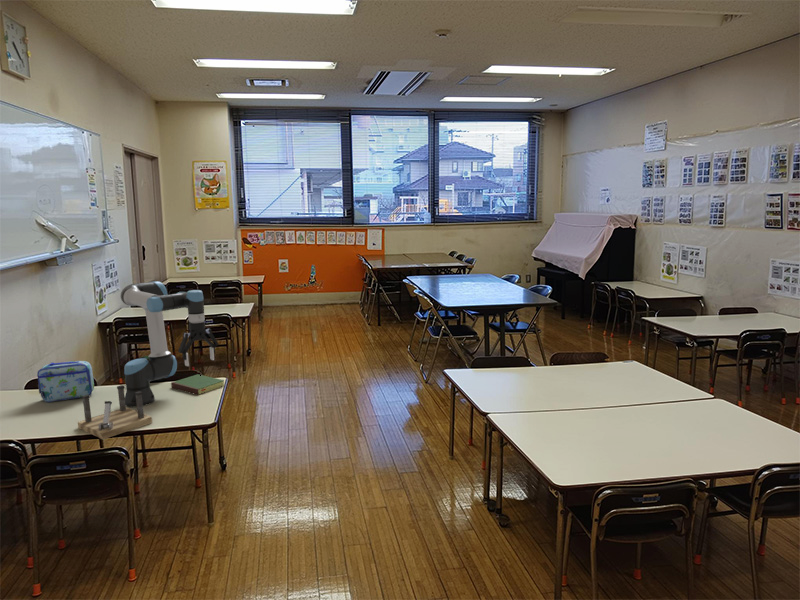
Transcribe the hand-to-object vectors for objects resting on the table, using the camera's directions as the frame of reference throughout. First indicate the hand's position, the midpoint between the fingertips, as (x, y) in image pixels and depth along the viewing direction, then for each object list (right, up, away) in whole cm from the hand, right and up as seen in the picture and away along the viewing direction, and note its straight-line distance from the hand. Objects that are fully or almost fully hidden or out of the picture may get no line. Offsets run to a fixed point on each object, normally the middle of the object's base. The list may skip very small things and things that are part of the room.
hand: (199, 362), depth 278 cm
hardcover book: (-18, -20, +49) cm, 56 cm away
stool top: (-39, -30, -7) cm, 49 cm away
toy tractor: (-54, -18, +62) cm, 84 cm away
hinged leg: (-37, -23, -17) cm, 47 cm away
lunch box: (-86, -24, +33) cm, 95 cm away
